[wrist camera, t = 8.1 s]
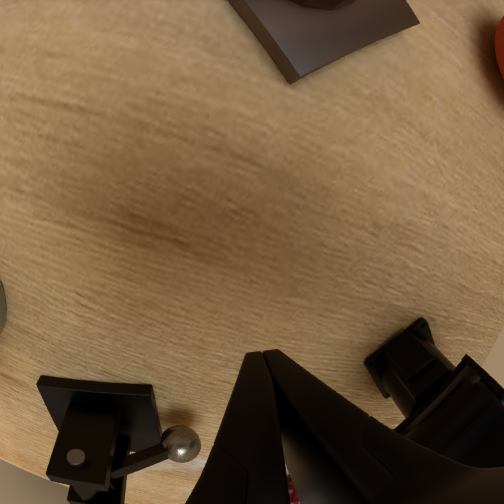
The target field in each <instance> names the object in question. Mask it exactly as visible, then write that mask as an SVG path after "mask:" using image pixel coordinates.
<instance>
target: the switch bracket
mask: <svg viewBox="0 0 504 504" xmlns="http://www.w3.org/2000/svg"><path fill="white" fill-rule="evenodd" d="M36 385H37V387H38V389H39V392H40V394H41V396H42V398H43V400H44V403H45V405H46V407H47V409H48V411H49V413H50V415H51V417H52V419H53V421H54V423H55V425H56V427H57V429H58V431H59V433H58V436H57V439H56V442H55V445H54V448H53V452H52V455H51V458H50V461H49V464H48V468H47V471H46V475H47V476H48V478H49V479H50V480H51V481H53V482H58V483H62V484H67V485H70V487H69V492H68V497H67V500H68V502H69V503H70V504H124V501H125V490H126V480H127V475H125V476H122V477H119V478H116V479H113V480H111V481H110V475H111V469H112V463H113V460H116V459H119V458H122V457H125V456H128V455H130V451H131V452H138V451H141V450H144V449H146V448H149V447H152V446H154V445H157V444H159V443H160V439H161V436H162V430H161V426H160V421H159V417H158V412H157V408H156V403H155V398H154V393H153V388H152V385H139V384H119V383H104V382H92V381H81V380H72V379H63V378H55V377H48V376H40V378H39V380H38V382H37V384H36ZM109 482H111V484H112V486H113V488H114V489H115V491H113V492H110V493H107V494H104V495H101V496H98V497H94V498H91V499H88V500H84V501H83V500H82V498H81V497H80V496H79V495H78V493H77V492H76V491H75V490H74V488H73V487H72V486H76V487H82V488H87V489H93V490H99V491H106V492H108V489H109Z"/></svg>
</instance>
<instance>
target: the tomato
mask: <svg viewBox="0 0 504 504" xmlns="http://www.w3.org/2000/svg"><path fill="white" fill-rule="evenodd" d="M495 53H496V59H497V63H498V66H499V69H500V72H501V75H502V77H503V79H504V16H503V17H502V19H501V21H500V23H499V24H498V26H497V30H496V35H495Z"/></svg>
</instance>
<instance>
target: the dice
mask: <svg viewBox="0 0 504 504" xmlns="http://www.w3.org/2000/svg"><path fill="white" fill-rule="evenodd" d="M288 489H289V497H290V504H301V502H300V500H299V497H298V495H297V492H296V490H295V487H294V484H293V482H292V479H291V480H290V481H289V482H288Z"/></svg>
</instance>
